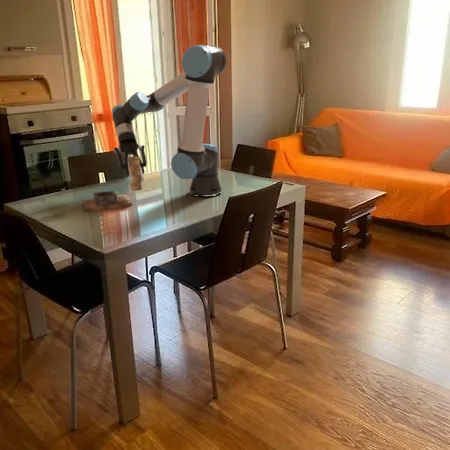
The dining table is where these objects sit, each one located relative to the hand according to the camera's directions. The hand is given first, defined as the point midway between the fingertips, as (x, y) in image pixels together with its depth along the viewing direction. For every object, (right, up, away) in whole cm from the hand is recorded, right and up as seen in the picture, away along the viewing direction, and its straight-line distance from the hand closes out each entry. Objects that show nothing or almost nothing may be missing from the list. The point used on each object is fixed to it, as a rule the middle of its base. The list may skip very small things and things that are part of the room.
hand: (137, 180), depth 194 cm
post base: (-14, -10, +1) cm, 17 cm away
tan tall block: (-1, -3, +5) cm, 6 cm away
